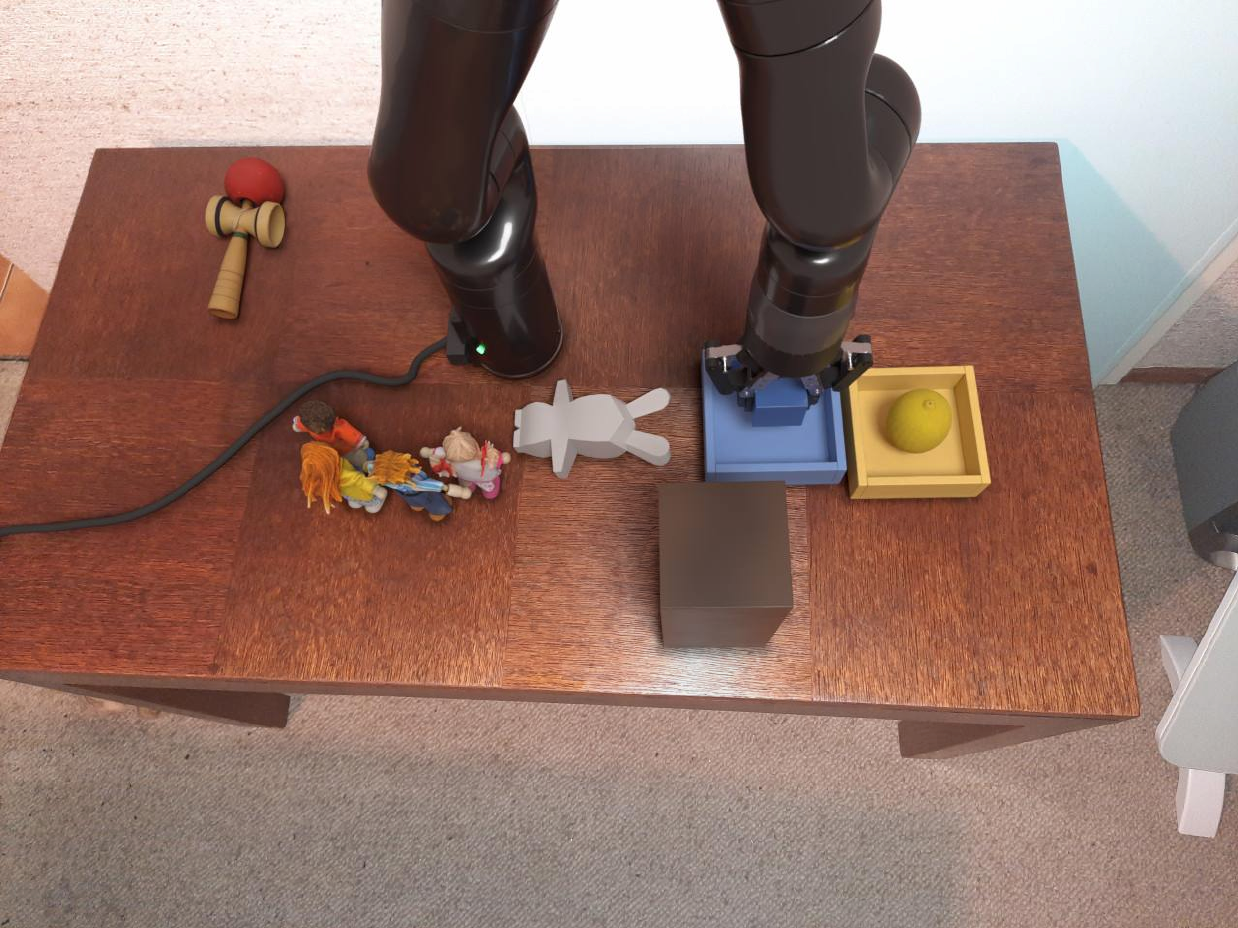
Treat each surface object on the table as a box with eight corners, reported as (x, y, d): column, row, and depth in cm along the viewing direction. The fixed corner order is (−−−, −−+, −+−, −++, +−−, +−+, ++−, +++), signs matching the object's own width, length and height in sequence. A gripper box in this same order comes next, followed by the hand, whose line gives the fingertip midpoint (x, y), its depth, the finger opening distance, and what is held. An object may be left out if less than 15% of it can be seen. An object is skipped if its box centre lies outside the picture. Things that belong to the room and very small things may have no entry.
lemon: (948, 435, 81) (976, 400, 74) (913, 476, 80) (937, 445, 73) (901, 400, 83) (923, 363, 75) (865, 439, 82) (884, 406, 74)
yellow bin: (850, 499, 80) (858, 485, 77) (839, 386, 84) (847, 368, 80) (976, 497, 80) (991, 483, 76) (959, 383, 84) (973, 365, 80)
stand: (663, 647, 77) (660, 608, 58) (662, 550, 80) (658, 482, 61) (764, 647, 76) (793, 607, 57) (759, 549, 79) (785, 480, 61)
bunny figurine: (512, 376, 82) (666, 366, 80) (527, 398, 87) (673, 389, 85) (506, 469, 79) (666, 462, 77) (521, 486, 84) (673, 480, 81)
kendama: (276, 327, 92) (307, 175, 96) (236, 304, 86) (271, 143, 90) (216, 326, 94) (249, 177, 98) (173, 303, 88) (210, 146, 92)
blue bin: (705, 486, 82) (706, 472, 78) (701, 367, 86) (702, 348, 82) (838, 484, 81) (847, 469, 77) (828, 364, 85) (835, 345, 81)
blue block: (751, 427, 78) (755, 407, 74) (749, 382, 80) (753, 361, 76) (801, 426, 78) (808, 406, 74) (797, 381, 80) (804, 359, 75)
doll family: (526, 473, 83) (500, 421, 71) (500, 567, 80) (468, 530, 68) (324, 434, 86) (265, 377, 74) (291, 523, 83) (224, 480, 71)
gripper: (894, 258, 63) (850, 362, 79) (699, 265, 64) (695, 367, 80) (905, 349, 61) (858, 437, 77) (703, 355, 62) (698, 441, 78)
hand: (775, 401), depth 78 cm, fingers closed on blue block, 4 cm apart
